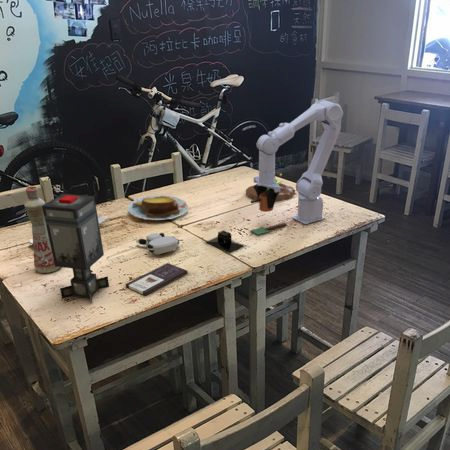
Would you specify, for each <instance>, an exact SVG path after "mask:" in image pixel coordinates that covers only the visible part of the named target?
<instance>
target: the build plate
mask: <svg viewBox="0 0 450 450" xmlns="http://www.w3.org/2000/svg"><path fill="white" fill-rule="evenodd" d="M205 243H206V244H208V245H210V246H213V247H215V248H217V249H219V250H222V251H224V252H226V253H233V252H235V251H237V250H239V249H242V248H243V247H244V246H245V245H244V244H241V243H238V242H236V241H233V240H232V232H229V231H226V230H221V231H219V232H217V236H216V237H214V238H212V239H210V240H209V239H208V240H207V241H206V242H205Z"/></svg>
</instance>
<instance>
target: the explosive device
mask: <svg viewBox="0 0 450 450" xmlns="http://www.w3.org/2000/svg"><path fill="white" fill-rule="evenodd" d="M42 209H43V213H44V218H45V222H46V227H47V231H48V236H49V240H50V245H51V250H52V254H53V259H54V263H55V266H57V267H61V268H64V269H65V268H66V269H72V274H73V277H71V279H70V280H69V281H70V285H67V286H64V287H59V292H60V296H61V299H62V300H64V299H67V298H71V297H79V298H85V299H89V300H90V302H91V303H92V304H94V303H93V298H92V297H93V295H95V293H97V292H98V291H99V290H103V289H106V288H109V287H110V282H109V276H107V275H106V276H104V277H99V278H97V274H96V273H92V269H91V267H92V266H93V265H95V264H96V263H97V262H98V261H99V260H101V258H102V257H104V255H105V253H104V246H103V239H102V234H101V228H100V224H99V221H98V219H99V218H98V216H99V214H98V210H97V204H96V197H95V196H93V195H82V194H71V193H61V194H59V195H58V196H56V197H54V198H53V199H51V200H49V201H47V202H45V205H43V206H42Z"/></svg>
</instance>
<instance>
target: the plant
mask: <svg viewBox="0 0 450 450" xmlns="http://www.w3.org/2000/svg"><path fill="white" fill-rule="evenodd" d="M277 175H278V176H279V177H282V176H283V174H282V172H279V171H277V172H275V177H277ZM274 181H275V182H276V183H277V184H278V185H279V186H280V192H279V194H278V196H277V198H276V200H275V203H277V202H281V201H284V200H289V199H291V198H293V196H294V195H295V194H296V188H295V187H293V186H290V185H287V184H285V183H283V181H279V182H278V179H276V178H275V180H274ZM267 190H269V188H267ZM245 195H246V196H247V197H248V198H249V199H251V200H256V199H258V196H257V193H256V191H255V189H254V185H250V186H248V187H247V188H245Z"/></svg>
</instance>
